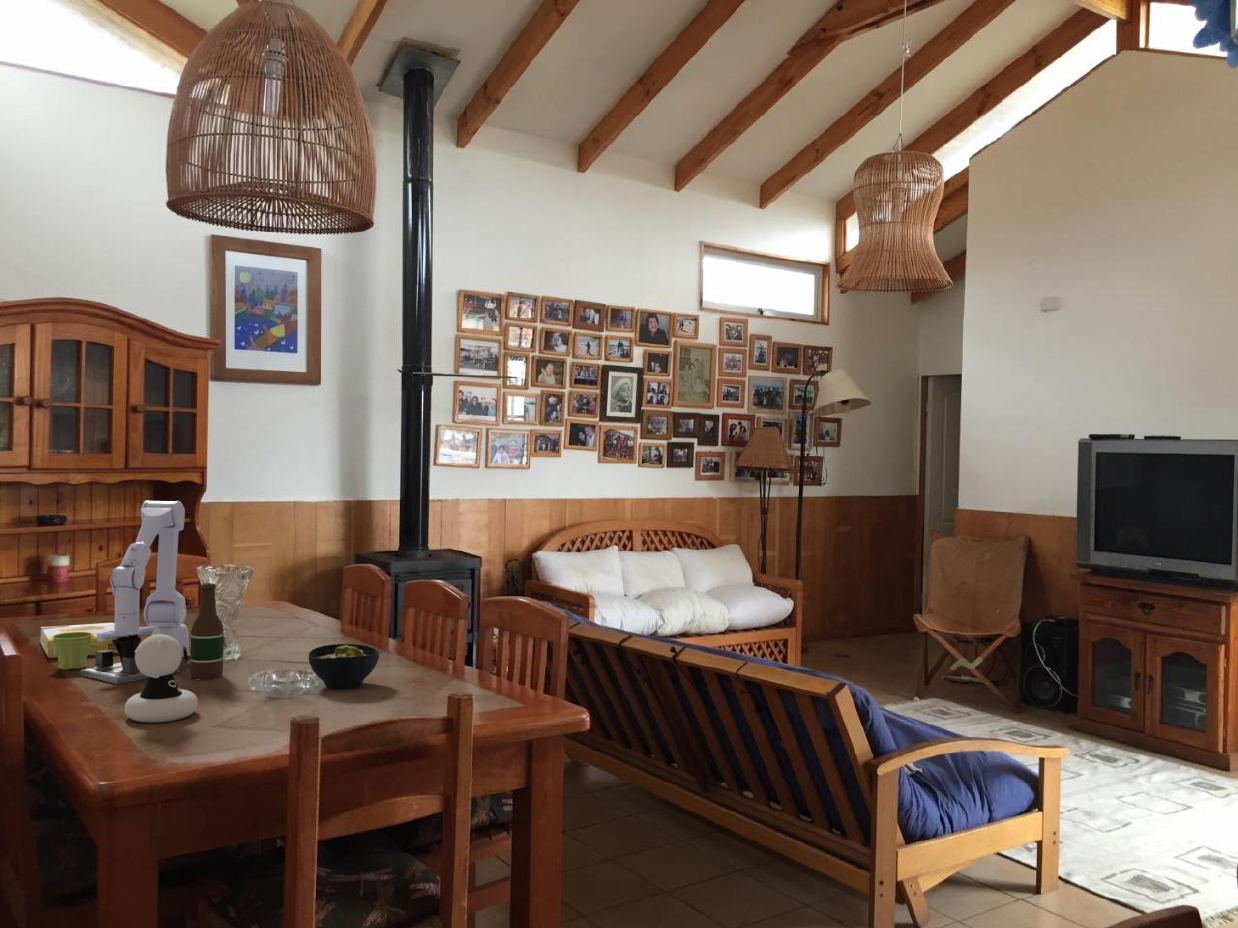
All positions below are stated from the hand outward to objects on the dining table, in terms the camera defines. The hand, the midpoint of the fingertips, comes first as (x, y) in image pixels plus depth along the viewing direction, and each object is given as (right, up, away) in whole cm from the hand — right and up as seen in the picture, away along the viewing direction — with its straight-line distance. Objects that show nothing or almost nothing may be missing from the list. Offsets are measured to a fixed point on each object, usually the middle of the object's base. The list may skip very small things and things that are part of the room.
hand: (126, 665), depth 256 cm
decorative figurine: (+27, -4, -38) cm, 47 cm away
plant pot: (-18, -2, +7) cm, 19 cm away
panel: (+1, -2, +1) cm, 3 cm away
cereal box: (-29, -2, +34) cm, 45 cm away
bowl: (+58, -4, -7) cm, 59 cm away
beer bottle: (+21, -3, 0) cm, 21 cm away
